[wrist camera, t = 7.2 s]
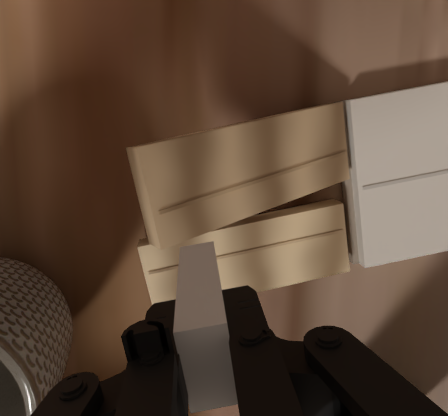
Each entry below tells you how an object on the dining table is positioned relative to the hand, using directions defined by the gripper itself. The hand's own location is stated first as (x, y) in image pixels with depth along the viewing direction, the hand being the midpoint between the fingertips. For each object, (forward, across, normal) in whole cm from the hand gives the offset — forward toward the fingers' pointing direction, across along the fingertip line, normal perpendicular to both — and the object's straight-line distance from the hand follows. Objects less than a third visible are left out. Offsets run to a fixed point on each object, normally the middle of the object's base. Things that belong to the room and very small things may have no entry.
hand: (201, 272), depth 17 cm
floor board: (+17, +19, -2) cm, 26 cm away
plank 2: (+17, +3, -6) cm, 18 cm away
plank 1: (+13, +4, +2) cm, 14 cm away
